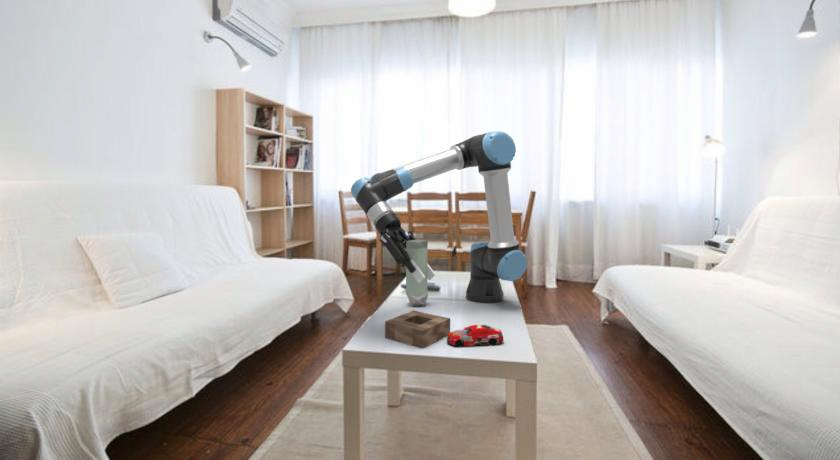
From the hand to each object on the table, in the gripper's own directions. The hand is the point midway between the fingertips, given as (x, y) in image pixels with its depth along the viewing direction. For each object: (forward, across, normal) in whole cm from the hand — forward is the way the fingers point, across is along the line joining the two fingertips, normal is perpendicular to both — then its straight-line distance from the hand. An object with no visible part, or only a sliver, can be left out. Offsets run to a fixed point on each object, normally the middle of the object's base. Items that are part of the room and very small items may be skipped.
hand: (427, 278), depth 123 cm
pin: (+1, 0, -6) cm, 6 cm away
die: (-4, -28, -30) cm, 42 cm away
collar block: (+10, 0, -15) cm, 18 cm away
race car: (+22, -6, -4) cm, 23 cm away
